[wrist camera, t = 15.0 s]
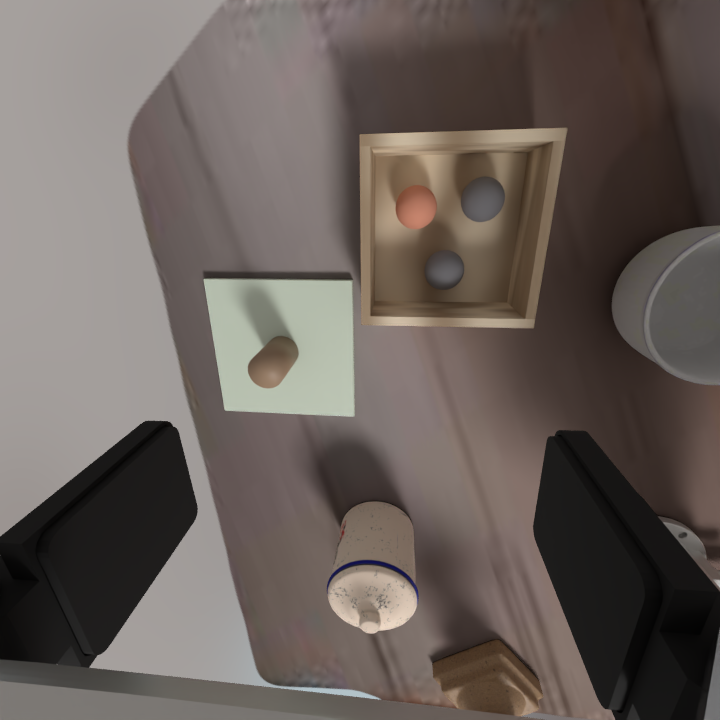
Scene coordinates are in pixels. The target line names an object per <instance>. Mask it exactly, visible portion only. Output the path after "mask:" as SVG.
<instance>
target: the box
mask: <svg viewBox="0 0 720 720" xmlns="http://www.w3.org/2000/svg"><path fill="white" fill-rule="evenodd" d="M566 134H567V128H543V129H511V130H480V131H448V132H416V133H385V134H360V236H361V325H391V326H441V327H492V328H534V323H535V317H536V311H537V305H538V299H539V293H540V288H541V282H542V276H543V270H544V264H545V258H546V252H547V246H548V240H549V234H550V228H551V223H552V217H553V211H554V205H555V199H556V193H557V187H558V181H559V175H560V169H561V163H562V158H563V152H564V146H565V140H566ZM485 176H486V177H492V178H494V179H496V180H498V181H499V182H500V183H501V185H502V186H503V189H504V192H505V201H504V205H503V207H502V209H501V211H500V212H499V213H498V214H497V215H496V216H495V217H494V218H492V219H491V220H488V221H485V222H475V221H472V220H470V219H469V218H468V217H467V216H466V215H465V214H464V212H463V210H462V207H461V197H462V193H463V191H464V189H465V188H466V186H467V185H468V184H469V183H470V182H471V181H473V180H474V179H476V178H479V177H485ZM413 185H421V186H425V187H427V188H428V189H430V190H431V191H432V193H433V194H434V196H435V198H436V201H437V210H436V214H435V216H434V218H433V220H432V221H431V222H430V223H429V224H428V225H427V226H425V227H423V228H420V229H410V228H407V227H405V226H404V225H403V224H401V222H400V221H399V220H398V218H397V215H396V202H397V199H398V197H399V195H400V194H401V193H402V191H404V190H405V189H406V188H408V187H410V186H413ZM441 250H450V251H453V252H455V253H456V254H458V255H459V256H460V258H461V259H462V261H463V263H464V274H463V277H462V279H461V281H460V282H459V283H458V284H457V285H456V286H455V287H453V288H451V289H448V290H439V289H436V288H434V287H432V286H431V285H430V284H429V283H428V282H427V280H426V278H425V273H424V269H425V264H426V262H427V260H428V259H429V257H430V256H431V255H433V254H434V253H436V252H438V251H441Z"/></svg>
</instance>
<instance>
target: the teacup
mask: <svg viewBox="0 0 720 720" xmlns="http://www.w3.org/2000/svg"><path fill="white" fill-rule="evenodd" d="M612 314H613V319H614V322H615V325H616V327H617V329H618V331H619V333H620V334H621V336H622V337H623V338H624V340H625V341H626V342H627V343H628V344H629V345H630V346H632V347H633V348H634V349H635V350H637V351H638V352H639V353H641V354H642V355H644V356H645V357H647V358H648V359H650V360H652V361H653V362H655V363H657V364H658V365H659V366H660V367H661V368H662V369H664V370H665V371H667V372H668V373H670V374H672V375H674V376H676V377H678V378H680V379H683V380H685V381H690V382H692V383H697V384H703V385H720V225H719V226H706V227H697V228H691V229H686V230H682V231H679V232H675V233H672V234H670V235H667V236H665V237H663V238H661V239H659V240H657V241H655V242H653V243H652V244H650V245H649V246H647V247H646V248H644V249H643V250H642V251H641V252H639V253H638V254H637V255H636V256H635V257H634V258H633V259H632V260H631V261H630V262H629V263H628V265H627V266H626V267H625V269H624V270H623V272H622V273H621V275H620V277H619V279H618V280H617V283H616V286H615V288H614V292H613V297H612Z"/></svg>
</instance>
